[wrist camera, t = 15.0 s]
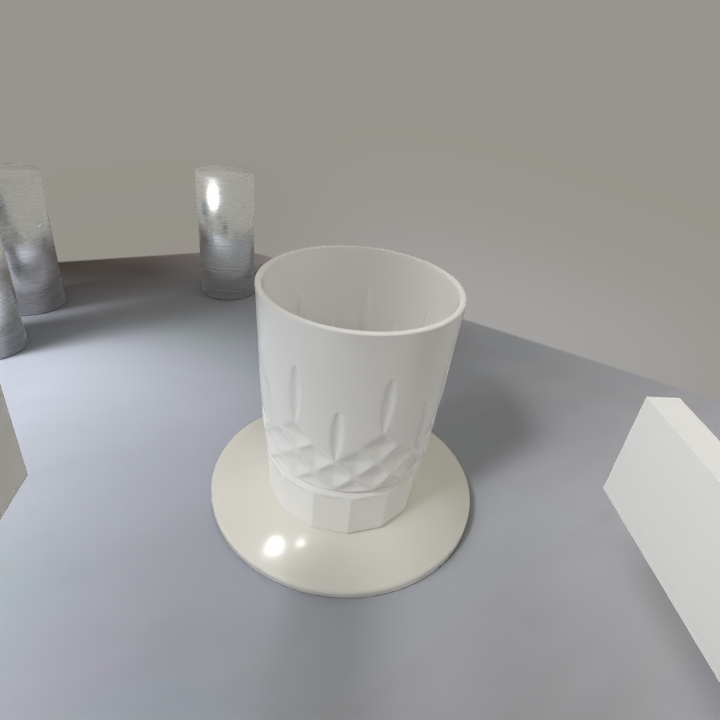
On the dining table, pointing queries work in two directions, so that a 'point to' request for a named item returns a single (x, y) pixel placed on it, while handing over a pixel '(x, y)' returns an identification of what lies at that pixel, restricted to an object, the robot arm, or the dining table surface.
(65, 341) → the dining table surface
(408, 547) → the coaster
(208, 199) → the cylinder
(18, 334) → the cylinder
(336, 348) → the white cup
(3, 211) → the cylinder
